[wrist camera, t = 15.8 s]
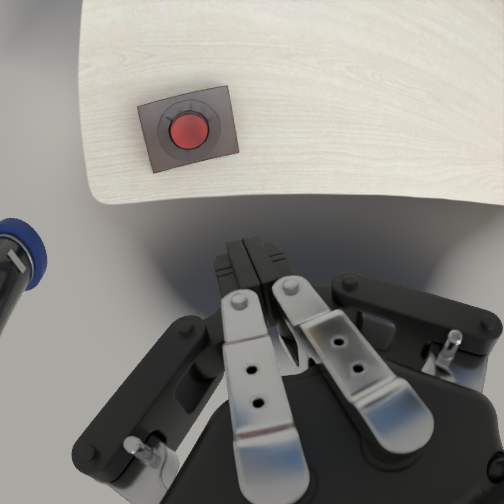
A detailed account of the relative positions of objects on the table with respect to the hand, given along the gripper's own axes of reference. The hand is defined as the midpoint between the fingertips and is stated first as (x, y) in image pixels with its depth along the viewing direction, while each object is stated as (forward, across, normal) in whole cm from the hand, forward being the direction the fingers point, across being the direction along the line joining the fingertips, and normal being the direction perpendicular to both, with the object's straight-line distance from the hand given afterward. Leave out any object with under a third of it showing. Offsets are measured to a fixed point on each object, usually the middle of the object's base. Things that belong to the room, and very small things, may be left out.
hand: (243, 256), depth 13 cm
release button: (+20, +1, -4) cm, 20 cm away
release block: (+23, +1, -4) cm, 24 cm away
